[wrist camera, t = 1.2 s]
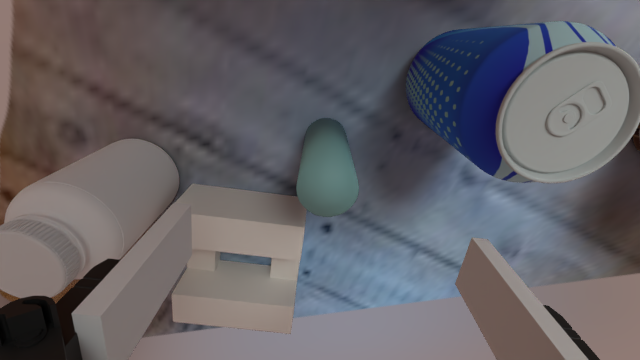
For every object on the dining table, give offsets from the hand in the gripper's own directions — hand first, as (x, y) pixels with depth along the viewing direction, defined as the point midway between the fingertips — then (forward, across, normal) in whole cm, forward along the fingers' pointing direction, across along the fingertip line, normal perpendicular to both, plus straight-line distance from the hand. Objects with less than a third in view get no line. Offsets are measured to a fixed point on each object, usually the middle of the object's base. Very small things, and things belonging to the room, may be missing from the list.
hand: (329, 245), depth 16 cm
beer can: (+18, +10, +7) cm, 22 cm away
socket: (+18, -7, -13) cm, 23 cm away
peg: (+18, 0, 0) cm, 18 cm away
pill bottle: (+18, -18, -6) cm, 26 cm away
